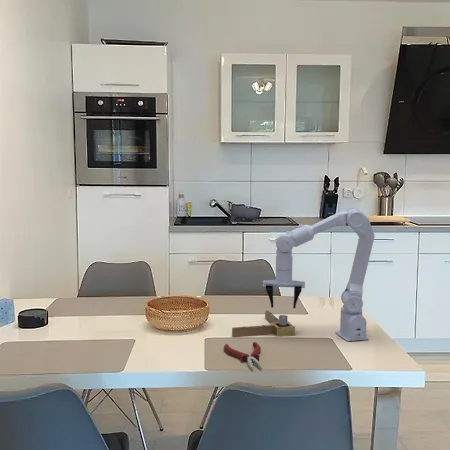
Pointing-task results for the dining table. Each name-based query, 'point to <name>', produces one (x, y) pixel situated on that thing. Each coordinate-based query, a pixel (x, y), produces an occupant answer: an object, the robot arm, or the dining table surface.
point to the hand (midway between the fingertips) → (283, 307)
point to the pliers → (245, 355)
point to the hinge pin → (283, 321)
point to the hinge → (265, 328)
